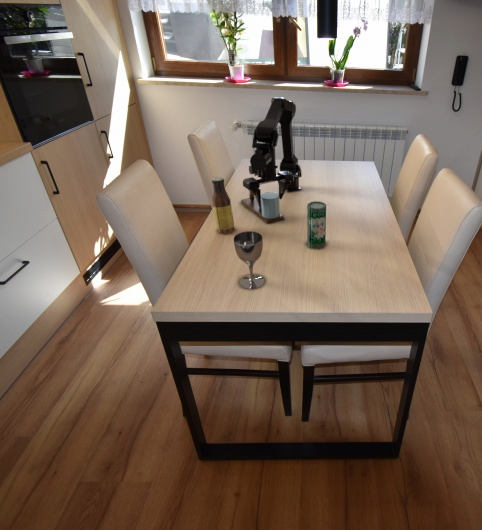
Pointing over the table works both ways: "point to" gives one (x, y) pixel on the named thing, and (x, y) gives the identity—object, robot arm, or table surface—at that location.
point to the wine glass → (249, 255)
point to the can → (316, 224)
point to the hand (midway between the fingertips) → (270, 201)
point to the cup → (270, 205)
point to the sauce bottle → (222, 206)
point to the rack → (257, 208)
